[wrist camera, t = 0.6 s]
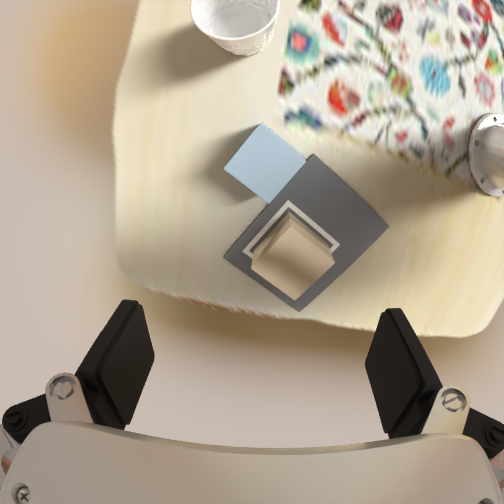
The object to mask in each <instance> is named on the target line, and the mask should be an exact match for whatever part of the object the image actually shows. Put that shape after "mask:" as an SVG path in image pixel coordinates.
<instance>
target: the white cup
mask: <svg viewBox="0 0 504 504" xmlns="http://www.w3.org/2000/svg"><path fill="white" fill-rule="evenodd" d="M190 12H191V17H192V20H193V22H194V23H195V25H196V26H197V27H198V28H199V29H200V30H201V31H202V32H203V33H204V34H206V35H207V36H208V37H209V38H210V39H211V40H213V41H214V42H215V43H217V44H218V45H219V46H221V47H222V48H224V49H225V50H227V51H229V52H231V53H233V54H235V55H245V56H249V55H252V54H255V53H259V52H261V51H262V50H263V49H265V48H266V47H267V46H268V45H269V44H270V42H271V40H272V37H273V35H274V32H275V28H276V24H277V18H278V12H279V0H192V1H191V7H190Z"/></svg>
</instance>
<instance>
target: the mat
mask: <svg viewBox="0 0 504 504" xmlns="http://www.w3.org/2000/svg"><path fill="white" fill-rule="evenodd" d="M288 212H290V213H291V214H292V215H293V216H295V217H296V218H297V219H298V220H299V221H301V222H302V223H303V224H304V225H305V226H307V227H308V228H309V229H310V230H311V231H313V232H314V233H315V234H316V235H317V236H318V237H320V238H321V239H322V240H323V241H324V242H325V243H327V244H328V245H329V248H330V250H331V253H332V256H333V259H334V262H335V263H334V264H333V265H332V266H331V267H330V268H329V269H328V270H327V271H326V272H325V273H324V274H323V275H322V276H321V277H320V278H319V279H318V280H317V281H316V282H315V283H313V284H312V285H311V286H310V287H309V288H308V289H307V290H306V291H305V292H304V293H303V294H302V295H301V296H299V297H298V298H297V299H296V300H293V299H292V298H291V297H289V296H288V295H286V294H285V293H284V292H282V291H281V290H280V289H278V288H277V287H275V286H274V285H273V284H271V283H270V282H269V281H267V280H266V279H264V278H263V277H262V276H260V275H259V274H258V273H256V272H255V271H254V270H252V269H251V266H252V260H253V254H254V250H255V249H256V248H257V247H258V245H259V244H260V243H261V242H262V241H263V240H264V239H265V238H266V237H267V236H268V234H269V233H270V232H271V231H272V230H273V229H274V228H275V227H276V226H277V225H278V223H279V222H280V221H281V220H282V219H283V218H284V217H285V216H286V215H287V214H288ZM388 227H389V226H388V225H387V224H386V223H385V222H384V221H383V220H382V219H381V217H380V216H379V215H378V214H377V213H376V212H375V211H374V210H373V209H372V208H371V207H370V206H369V205H368V204H367V203H366V202H365V201H364V200H363V199H362V198H361V197H360V196H359V195H358V194H357V193H356V192H355V191H354V190H352V189H351V188H350V187H349V186H348V185H347V184H346V183H345V182H344V181H343V180H342V179H341V178H340V177H339V176H338V175H337V174H335V173H334V172H333V171H332V170H331V169H330V168H329V167H328V166H327V165H326V164H324V163H323V162H322V161H321V160H320V159H319V158H318V157H317V156H315V155H314V154H313V155H312V156H311V157H310V158H309V159H308V160H307V162H306V163H305V164H304V165H303V166H302V167H301V168H300V169H299V170H298V172H297V173H296V174H295V175H294V176H293V177H292V178H291V180H290V181H289V182H288V183H287V184H286V185H285V186H284V187H283V189H282V190H281V191H280V192H279V193H278V194H277V195H276V197H275V198H274V199H273V200H272V201H271V202H270V203H269V204H268V206H267V207H266V208H265V209H264V210H263V211H262V213H261V214H260V215H259V216H258V217H257V218H256V219H255V221H254V222H253V223H252V224H251V225H250V226H249V227H248V229H247V230H246V231H245V232H244V233H243V234H242V236H241V237H240V238H239V239H238V240H237V241H236V242H235V244H234V245H233V246H232V247H231V248H230V249H229V251H228V252H227V253H226V254H225V255H224V258H225V259H227V260H228V261H230V262H231V263H232V264H234V265H235V266H236V267H238V268H239V269H241V270H242V271H243V272H245V273H246V274H247V275H249V276H250V277H252V278H253V279H254V280H256V281H257V282H259V283H260V284H261V285H263V286H264V287H265V288H267V289H268V290H270V291H271V292H272V293H274V294H275V295H277V296H278V297H279V298H281V299H282V300H284V301H285V302H286V303H288V304H289V305H291V306H292V307H293V308H295V309H296V310H298V311H299V312H300V311H301V310H302V309H303V308H304V307H306V306H307V305H308V304H309V303H310V302H311V301H312V300H313V299H314V298H316V297H317V296H318V295H319V294H320V293H321V292H322V291H323V290H324V289H325V288H327V287H328V286H329V285H330V284H331V283H332V282H333V281H334V280H335V279H336V278H337V277H338V276H339V275H341V274H342V273H343V272H344V271H345V270H346V269H347V268H348V267H349V266H350V265H351V264H352V263H353V262H354V261H355V260H356V259H357V258H358V257H359V256H360V255H361V254H362V253H363V252H364V251H365V250H366V249H367V248H368V247H369V246H371V245H372V244H373V243H374V242H375V241H376V239H377V238H378V237H379V236H380V235H381V234H382V233H383V232H384V231H385V230H386V229H387V228H388Z"/></svg>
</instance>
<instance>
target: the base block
mask: <svg viewBox="0 0 504 504" xmlns="http://www.w3.org/2000/svg"><path fill="white" fill-rule="evenodd" d="M334 263H335V262H334V259H333V256H332V253H331V250H330V248H329V245H328V244H327V243H325V242H324V241H323V240H322V239H321V238H320V237H318V236H317V235H316V234H315V233H314V232H313V231H311V230H310V229H309V228H308V227H307V226H305V225H304V224H303V223H302V222H301V221H299V220H298V219H297V218H296V217H295V216H293V215H292V214H291V213H290V212H288V214H287V215H286V216H285V217H284V218H283V219H282V220H281V221H280V222H279V223H278V225H277V226H276V227H275V228H274V229H273V230H272V231H271V232H270V233H269V234H268V236H267V237H266V238H265V239H264V240H263V241H262V242H261V243H260V244H259V245H258V247H257V248H256V249H255V250H254V254H253V260H252V266H251V269H252V270H254V271H255V272H256V273H258V274H259V275H260V276H262V277H263V278H264V279H266V280H267V281H269V282H270V283H271V284H273V285H274V286H275V287H277V288H278V289H280V290H281V291H282V292H284V293H285V294H286V295H288V296H289V297H291V298H292V299H293V300H296V299H297V298H298V297H299V296H301V295H302V294H303V293H304V292H305V291H306V290H307V289H308V288H309V287H310V286H311V285H312V284H313V283H315V282H316V281H317V280H318V279H319V278H320V277H321V276H322V275H323V274H324V273H325V272H326V271H327V270H328V269H329V268H330V267H331V266H332V265H333V264H334Z"/></svg>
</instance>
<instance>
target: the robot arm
mask: <svg viewBox="0 0 504 504" xmlns="http://www.w3.org/2000/svg"><path fill="white" fill-rule="evenodd" d="M468 155H469V164H470V169H471V172H472V175H473V178H474V180H475V181H476V183H477V185H478V186H479V187H480V188H481V189H482V190H483V191H484V192H486V193H488V194H489V195H492V196H495V197H501V196H504V115H502V114H497V113H491V114H487V115H485V116H483V117H482V118H481V119H480V120H479V121H478V122H477V123H476V125H475V127H474V129H473V131H472V134H471V137H470V142H469V154H468ZM153 362H154V351H153V347H152V343H151V339H150V335H149V332H148V327H147V323H146V319H145V315H144V311H143V307H142V305H139V303H138V301H135V300H122V302H121V303H120V304H119V306H118V308H117V309H116V310H115V312H114V314H113V315H112V317H111V318H110V320H109V321H108V323H107V324H106V326H105V327H104V329H103V330H102V331H101V332H100V334H99V336H98V338H97V339H96V340H95V342H94V343H93V345H92V347H91V348H90V350H89V351H88V353H87V355H86V356H85V358H84V360H83V362H82V363H81V365H80V366H79V368H78V370H77V372H76V373H75V375H73V374H71V373H61V374H57V375H55V376H54V377H53V378H51V379H50V380H49V382H48V383H47V385H46V389H45V390H46V391H45V394H43V395H40V396H38V397H35V398H32V399H30V400H27V401H25V402H22V403H19V404H17V405H14V406H12V407H10V408H9V409H8V410H6V412H5V413H4V415H3V419H2V424H1V425H0V504H504V424H502V423H501V422H499V421H497V420H494V419H493V418H490V417H488V416H486V415H484V414H482V413H480V412H478V411H476V410H474V409H472V408H470V399H469V396H468V395H467V393H466V392H465V391H464V390H463V389H462V388H460V387H458V386H454V385H448V386H445V387H443V386H442V384H441V382H440V380H439V377H438V376H437V373H436V371H435V369H434V367H433V365H432V363H431V362H430V360H429V358H428V356H427V354H426V352H425V350H424V348H423V346H422V344H421V343H420V341H419V339H418V337H417V336H416V334H415V332H414V330H413V328H412V327H411V325H410V323H409V321H408V320H407V318H406V316H405V314H404V313H403V311H402V309H401V308H388V309H386V310H385V312H382V313H381V316H380V319H379V322H378V325H377V328H376V331H375V334H374V338H373V341H372V344H371V346H370V349H369V352H368V355H367V358H366V361H365V368H366V371H367V374H368V378H369V381H370V384H371V388H372V391H373V395H374V398H375V401H376V405H377V409H378V412H379V416H380V419H381V423H382V427H383V430H384V432H385V433H388V436H389V439H387V440H381V441H374V442H366V443H358V444H350V445H339V446H327V447H312V448H247V447H231V446H219V445H208V444H199V443H191V442H184V441H177V440H171V439H164V438H159V437H154V436H148V435H143V434H138V433H133V432H129V431H125V430H124V429H125V426H126V425H129V424H130V422H131V419H132V417H133V414H134V411H135V409H136V406H137V403H138V401H139V398H140V395H141V393H142V390H143V387H144V385H145V382H146V380H147V377H148V375H149V372H150V370H151V367H152V365H153Z"/></svg>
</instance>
